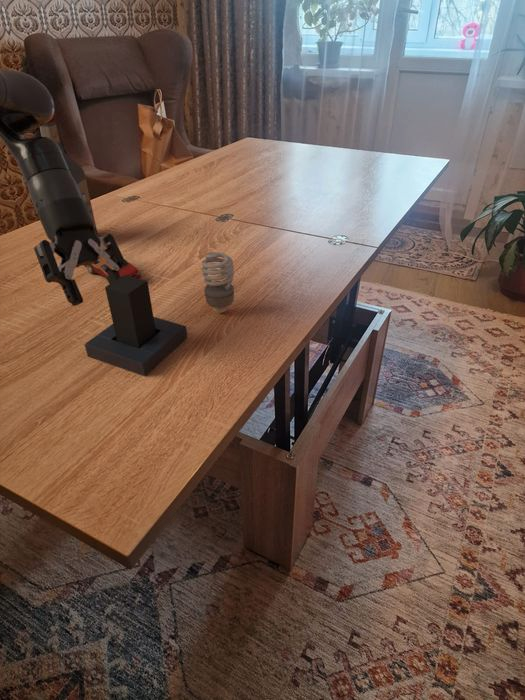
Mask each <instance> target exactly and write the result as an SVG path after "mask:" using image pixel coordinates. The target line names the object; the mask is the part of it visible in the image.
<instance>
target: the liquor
mask: <svg viewBox="0 0 525 700" xmlns="http://www.w3.org/2000/svg"><path fill="white" fill-rule="evenodd" d="M56 121H57V119H56V115H55V114H54V115H53V117H52V119H51V120H50V121H49V122H47V123H46V124H44V125H42V126H40V127H39V130H40V136H41V137H49V138H51V139H53V140H55V141H56V142H57V144H58V145H59V147H60V149H61V151H62V153H63V156H64V158H65V161H66V163H67V165H68V168H69V170H70V172H71V174H72V176H73V178H74V180H75V182H76V183H77V185H78V187H79V190H80V192H81V194H82V197H83V199H84V201H85V204H86V206H87V208H88V211H89V213H90V216H91V218H92V220H93V223H94V232H95V234H96V235H97V236H98V234H99V233H98V229H97V224H96V220H95V215H94V211H93V206H92V200H91V197H90V192H89V188H88V184H87V183H88V182H87V179H86V174H85V171H84V169H83V167H82V166H81V165H80V164H79V163H78V162H76V161H75V160H74V159H73V158H72V157H71V156H70V155H68V154H67V153H66V152H65V149H64V148H63V146H62V143H61V138H60V135H59V131H58V127H57V123H56Z"/></svg>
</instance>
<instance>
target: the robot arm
mask: <svg viewBox="0 0 525 700" xmlns="http://www.w3.org/2000/svg"><path fill="white" fill-rule="evenodd" d="M55 111H56V110H55V101H54V98H53V96H52V94H51V92H50V91H49V90H48V88H47V87H46V86H45V85H44V84H43V83H42V82H41V81H40V80H38V79H37V78H35V76H32V75H30V74H28V73H26V72H23V71H18V70H14V69H9V68H8V69H7V68H3V67H0V140H1V141H2V143H3V144H4V145H5V146H6V149H8V151H9V152H10V154H11V155H12V157H13V158H14V160H15V161H16V164H17V166H18V168H19V170H20V172H21V175H22V177H23V180H24V182H25V185H26V187H27V189H28V193H29V196H30V200H31V202H32V204H33V207H34V209H35V211H36V214H37V216H38V218H39V221H40V224H41V225H42V228H43V231H44V232H45V234H46V237H47V239H49V240H50V242H49V241H48V240H47V239H43V240H42V241H40V242H39V243H37V244H36V245H35V246H34V247H33V249H34V252H35V255H36V258H37V261H38V263H39V266H40V269H41V271H42V274H43V277H44V280H45V281H46V282H47V283H49V284H51V283H57V284H59V285H60V286H61V289H62V291H63V293H64V295H65V297H66V301H67V302H68V303H69V304H71V305H72V306H73V307H77V306H79V305H81V304H82V303H84V298H83V296H82V293H81V291H80V289H79V286H78V284H77V282H76V280H75V279H73V276H74V272H75V269H76V268H80V267H82V266H83V267H85V266H86V267H87V266H89V265H92V266H94V267H95V268H98V269H100V270H101V271H103V272H104V273H105V274H106V275H108V276H107V278H106V280H107V282H108V285H109V284H111V283H113V282H114V281H116V280H117V279H119V278H120V277H121V276H120V274H119V270H120V269H121V268H122V267H124V266H125V265H126V262H125V260H126V259H125V258H124V256H123V254H122V251H121V249H120V248H119V245H118V243H117V241H116V239H115V237H114V235H113V234H112V233H107V234H106V235H104V236H98V234H97V235H96V234H95V232H94V223H93V220H92V218H91V216H90V213H89V211H88V208H87V206H86V204H85V201H84V199H83V197H82V194H81V192H80V190H79V187H78V185H77V183H76V182H75V180H74V178H73V176H72V174H71V172H70V170H69V168H68V165H67V163H66V161H65V158H64V156H63V153H62V151H61V149H60V147H59V145H58V144H57V142H56V141H55V140H53V139H51V138H49V137H42V136H35V137H30V138H29V137H28V138H26V137H25V135H26V134H28V133H30V132H32V131H33V130H36V129H38V128H40V126H42V125H44V124H46V123H47V122H49V121H50V120H51V119H52V117H53V115H55ZM55 254H56V255H57V256H58V257H59V258H60V261H59V264H58V262H57V260H56V256H55ZM98 256H99V257H100V258H101V259H99V260H98ZM115 257H116V259H115ZM124 259H125V260H124ZM116 260H117V261H116ZM105 264H106V265H105Z"/></svg>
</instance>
